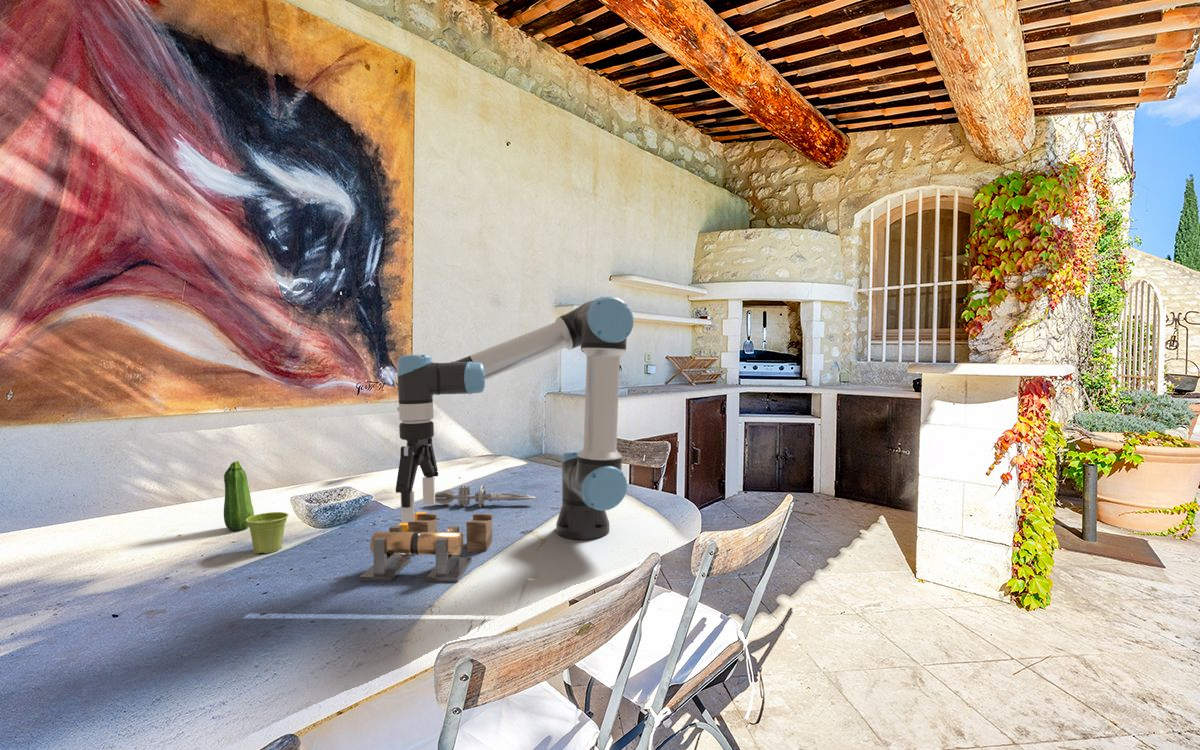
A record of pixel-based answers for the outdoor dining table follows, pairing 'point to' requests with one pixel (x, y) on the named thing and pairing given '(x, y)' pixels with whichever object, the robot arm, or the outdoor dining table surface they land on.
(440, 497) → the spaceship
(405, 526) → the pipe clamp
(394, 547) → the tube
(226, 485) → the vegetable
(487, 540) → the walnut rest
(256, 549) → the plant pot
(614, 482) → the robot arm
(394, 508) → the outdoor dining table surface
